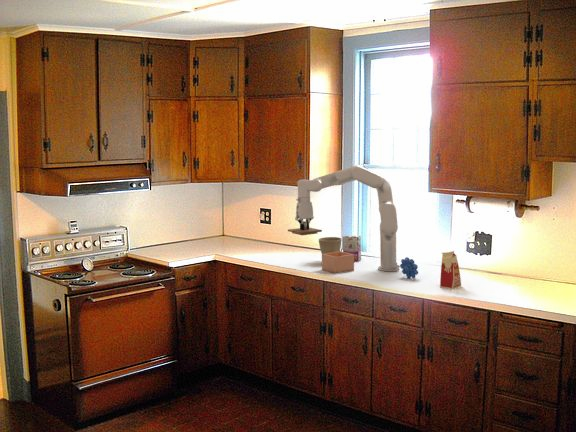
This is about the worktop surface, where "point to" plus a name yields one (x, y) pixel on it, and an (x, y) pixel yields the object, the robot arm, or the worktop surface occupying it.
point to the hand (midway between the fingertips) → (304, 229)
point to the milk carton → (450, 271)
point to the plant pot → (330, 244)
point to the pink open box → (338, 262)
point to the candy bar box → (352, 246)
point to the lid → (305, 230)
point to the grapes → (409, 267)
